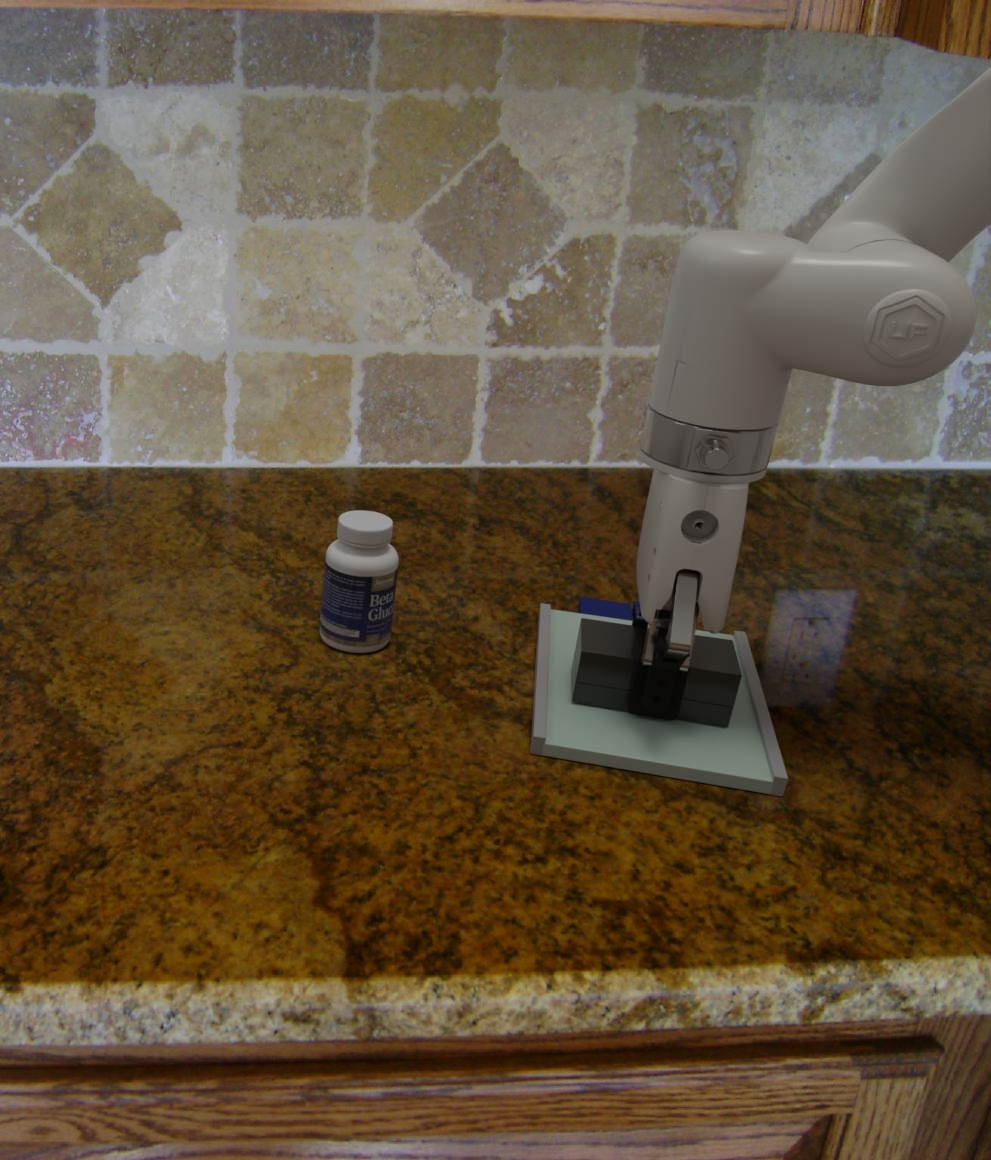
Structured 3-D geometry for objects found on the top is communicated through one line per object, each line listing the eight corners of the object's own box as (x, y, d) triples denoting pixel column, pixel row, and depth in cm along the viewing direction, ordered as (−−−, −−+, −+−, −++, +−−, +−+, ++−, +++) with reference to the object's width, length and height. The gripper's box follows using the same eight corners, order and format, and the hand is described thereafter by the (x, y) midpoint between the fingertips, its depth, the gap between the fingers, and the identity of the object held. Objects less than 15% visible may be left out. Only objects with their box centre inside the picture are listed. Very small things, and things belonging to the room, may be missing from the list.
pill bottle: (374, 662, 85) (386, 540, 81) (307, 643, 88) (316, 524, 83) (400, 632, 90) (413, 515, 85) (336, 615, 92) (346, 500, 88)
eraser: (719, 690, 81) (732, 639, 79) (728, 727, 77) (742, 675, 75) (571, 667, 83) (581, 617, 82) (571, 702, 79) (581, 650, 77)
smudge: (629, 612, 95) (630, 603, 94) (631, 634, 91) (633, 625, 91) (578, 605, 96) (579, 596, 95) (578, 626, 92) (580, 617, 92)
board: (741, 647, 89) (745, 631, 89) (783, 797, 72) (788, 778, 71) (537, 618, 93) (540, 602, 92) (530, 753, 75) (533, 735, 75)
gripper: (794, 496, 64) (720, 772, 72) (752, 409, 79) (694, 645, 86) (650, 479, 65) (594, 750, 73) (635, 396, 80) (590, 629, 88)
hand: (649, 691), depth 80 cm, fingers closed on eraser, 5 cm apart
